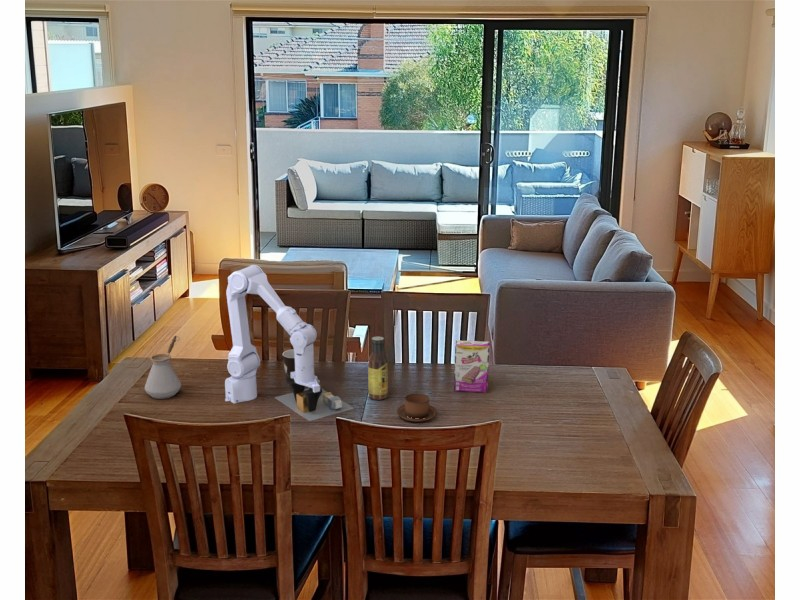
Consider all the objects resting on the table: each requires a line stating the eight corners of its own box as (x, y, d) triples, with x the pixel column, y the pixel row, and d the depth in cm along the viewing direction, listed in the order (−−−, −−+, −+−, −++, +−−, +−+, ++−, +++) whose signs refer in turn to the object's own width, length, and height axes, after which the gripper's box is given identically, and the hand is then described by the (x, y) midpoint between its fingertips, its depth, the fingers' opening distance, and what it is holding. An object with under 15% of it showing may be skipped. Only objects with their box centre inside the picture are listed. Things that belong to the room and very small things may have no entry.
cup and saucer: (391, 411, 272) (391, 393, 270) (427, 406, 276) (427, 388, 274) (405, 427, 261) (405, 408, 259) (442, 421, 265) (442, 402, 263)
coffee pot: (174, 402, 278) (171, 357, 274) (139, 400, 280) (135, 356, 275) (196, 377, 299) (193, 335, 294) (163, 375, 300) (159, 334, 296)
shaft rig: (334, 412, 267) (334, 401, 266) (301, 391, 283) (300, 381, 282) (349, 408, 270) (349, 397, 269) (316, 387, 286) (316, 377, 285)
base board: (309, 425, 262) (309, 421, 261) (274, 401, 279) (274, 397, 278) (354, 412, 271) (354, 408, 270) (317, 390, 288) (317, 386, 287)
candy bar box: (453, 392, 286) (454, 344, 282) (454, 386, 291) (455, 339, 286) (488, 393, 285) (489, 346, 281) (488, 387, 290) (489, 340, 285)
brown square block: (303, 413, 267) (302, 397, 265) (296, 408, 270) (296, 393, 268) (314, 410, 269) (314, 394, 268) (308, 405, 272) (307, 390, 271)
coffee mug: (307, 386, 291) (306, 358, 288) (281, 386, 291) (280, 357, 288) (311, 373, 302) (311, 346, 299) (286, 373, 302) (285, 345, 299)
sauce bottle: (385, 401, 279) (385, 342, 273) (366, 400, 280) (365, 341, 274) (389, 393, 285) (389, 335, 279) (371, 392, 286) (370, 334, 280)
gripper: (328, 369, 262) (329, 411, 266) (304, 355, 273) (305, 396, 277) (307, 374, 258) (309, 417, 262) (283, 360, 269) (285, 401, 273)
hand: (305, 406), depth 269 cm, fingers open, 7 cm apart
